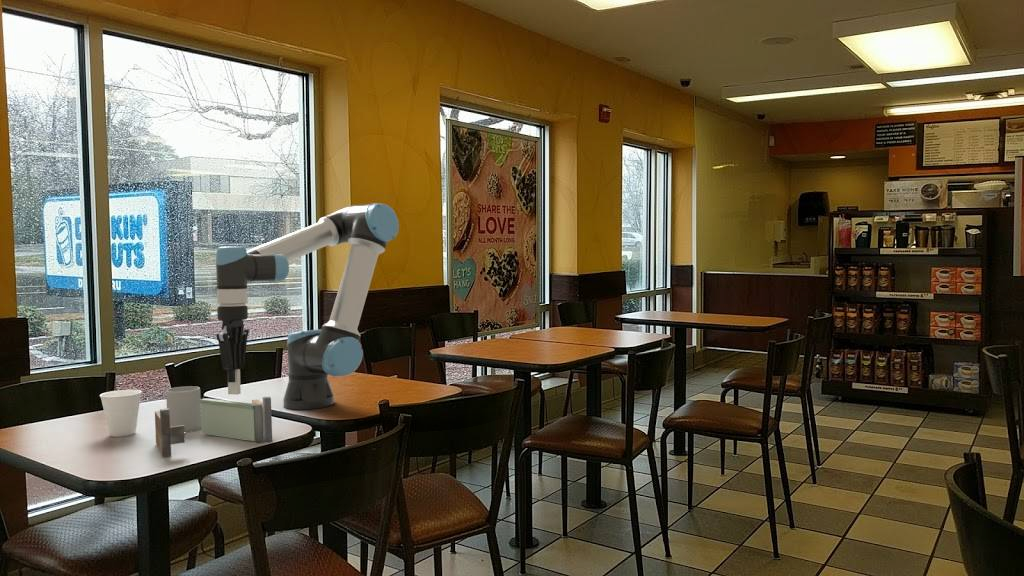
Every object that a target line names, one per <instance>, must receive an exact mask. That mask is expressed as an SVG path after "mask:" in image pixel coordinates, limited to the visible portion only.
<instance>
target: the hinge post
mask: <svg viewBox="0 0 1024 576" xmlns="http://www.w3.org/2000/svg"><path fill="white" fill-rule="evenodd" d="M251 403H252V404H258V405H262V415H263V442H265V443H270V442H273V420H272V397H271V396H263V397H262V401H260V400H259V399H252V400H251Z"/></svg>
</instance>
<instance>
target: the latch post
mask: <svg viewBox="0 0 1024 576" xmlns="http://www.w3.org/2000/svg"><path fill="white" fill-rule="evenodd" d="M154 422H155V423H154V424H155V425H154V426H155V444H156V446H157V448H158V449H159V451H160V452H161V457H162V458H167V457H172V445H176V444H184V443H186V440H185V438H186V437H185V435H186V434H185V433H184V425H180V426H172V427H170V414H169V409H168V408H167V407H166V408H159V410H156V411H154Z"/></svg>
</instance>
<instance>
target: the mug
mask: <svg viewBox="0 0 1024 576" xmlns="http://www.w3.org/2000/svg"><path fill="white" fill-rule="evenodd" d="M165 393H166V394H165V398H166V400H165V401H166V408H168V409H169V414H170V427H172V426H180V425H184V432H186V433H192V432H196V431H199V430H202V421H201V403H200V399H202V398H201V396H202V395H201V388H200V387H199V386H192V385H190V386H188V385H187V386H177V387H171V388H168V389H166V392H165ZM195 430H196V431H195ZM191 431H192V432H191Z"/></svg>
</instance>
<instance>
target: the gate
mask: <svg viewBox="0 0 1024 576" xmlns="http://www.w3.org/2000/svg"><path fill="white" fill-rule="evenodd" d="M200 403H201V421H202V428H201V434H202V435H208V436H209V435H210V436H216V437H222V438H224V437H225V438H229V439H231V438H232V439H236V440H243V441H251V442H256V443H261V442H264V439H263V415H262V405H258V404H252V402H251V403H250V402H241V401H232V400H225V399H215V398H201V399H200Z"/></svg>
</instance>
